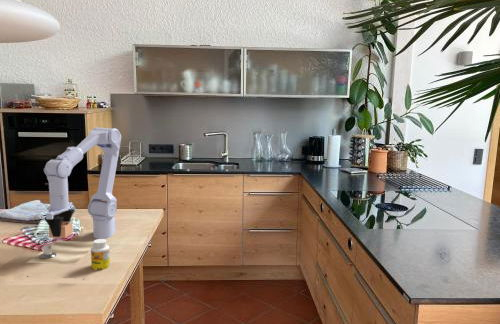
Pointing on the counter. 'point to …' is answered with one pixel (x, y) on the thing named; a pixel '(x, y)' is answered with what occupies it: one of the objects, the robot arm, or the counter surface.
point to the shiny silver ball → (47, 252)
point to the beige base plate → (65, 252)
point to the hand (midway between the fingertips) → (60, 233)
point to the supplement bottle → (100, 255)
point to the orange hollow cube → (63, 230)
